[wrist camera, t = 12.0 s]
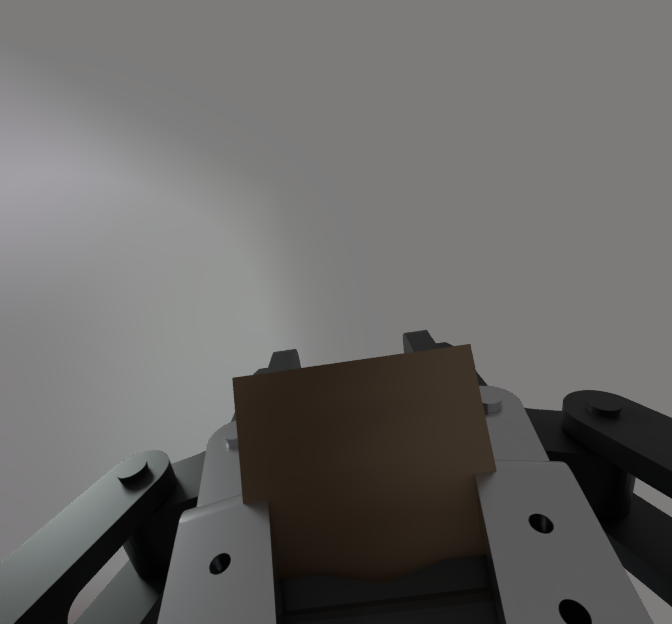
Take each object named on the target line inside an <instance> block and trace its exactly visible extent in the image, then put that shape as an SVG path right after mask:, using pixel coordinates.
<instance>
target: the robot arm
mask: <svg viewBox="0 0 672 624" xmlns="http://www.w3.org/2000/svg"><path fill="white" fill-rule="evenodd" d="M403 345H404V353H411V352H418V351H425V350H432V349H439V348H446V347H453V346H452V345H450V344H448V343H446V342H443V343H435V341H434V340H433V339H432V337H431V336H430V334H429V333H428V331H427V330H422V331H416V332H408V333H404V334H403ZM299 368H301V366H300V360H299V356H298V352H297V350H296V349H292V350H286V351H278V352H274V353H273V355H272V358H271V361H270V364H269V366H268V368H263V369H259V370H258V371H257V372H256V373H254V374H253V375H257V374H264V373H271V372H278V371H285V370H292V369H299ZM476 374H477V379H478V384H479V388H480V393H481V398H482V403H483V408H484V412H485V417H486V422H487V427H488V431H489V436H490V441H491V446H492V451H493V455H494V460H495V465H496V470H497V471H490V472H482V473H475V484H476V495H477V505H478V516H479V527H480V534H481V537H482V540H483V544H484V549H485V554H483V555H475V556H467V557H459V558H451V559H443V560H441V561H439V562H436V563H434V564H432V565H429V566H427V567H425V568H422V569H420V570H418V571H415V572H413V573H411V574H408V575H406V576H404V577H401V578H399V579H397V580H394V581H392V582H389V583H385V584H377V583H370V582H364V581H358V580H352V579H346V578H339V577H333V576H327V575H313V576H304V577H296V578H288V579H280V575H279V553H278V548H277V543H276V538H275V533H274V528H273V523H272V518H271V513H270V508H269V503H268V501H260V502H253V503H245V504H243V499H242V487H241V475H240V463H239V451H238V439H237V427H236V415H235V414H234V416H233V419H232V421H231V422H230V423H228V424H226V425H224V426H223V427H221V428H220V429H218V430H217V431H216V432H215V433H214V434H213V435H212V436H211V438H210V439H209V441H208V444H207V449H206V451H204V452H202V453H200V454H198V455H195V456H192V457H190V458H187V459H184V460H181V461H179V462H176V463H173V464H171V463H170V460H169V458H168V455H167V454H166V453H164V452H163V451H158V450H152V451H145V452H142V453H139V454H136V455H133V456H131V457H129V458H127V459H126V460H124V461H122V462H120V463H119V464H118V465H116V466H115V467H114V468H112V469H111V470H110V471H109V472H108V473H106V474H105V475H104V476H103V477H102V478H100V479H99V480H98V481H97V482H96V483H94V484H93V485H92V486H91V487H90V488H88V489H87V490H86V491H85V492H84V493H83V494H81V495H80V496H79V497H78V498H77V499H75V500H74V501H73V502H72V503H71V504H69V505H68V506H67V507H66V508H65V509H64V510H62V511H61V512H60V513H59V514H58V515H56V516H55V517H54V518H53V519H52V520H50V521H49V522H48V523H47V524H46V525H45V526H43V527H42V528H41V529H40V530H39V531H37V532H36V533H35V534H34V535H33V536H31V537H30V538H29V539H28V540H27V541H26V542H24V543H23V544H22V545H21V546H20V547H18V548H17V549H16V550H15V551H14V552H13V553H11V554H10V555H9V556H8V557H7V558H5V559H4V560H3V561H2V562H1V563H0V624H68V622H67V620H68V613H69V610H70V607H71V605H72V603H73V601H74V599H75V598H76V596H77V595H78V593H79V592H80V591H81V590H82V589H83V587H84V586H85V585H86V584H87V583H88V582H89V581H90V580H91V579H92V578H93V577H94V575H96V573H97V572H98V571H99V570H100V569H101V568H102V567H103V566H104V565H105V563H107V561H108V560H109V559H110V558H111V557H112V556H113V555H114V554H115V553H116V552H117V551H118V550H119V548H120V547H121V546H122V545H123V547H124V549H125V551H126V553H127V555H128V557H129V559H130V560H129V561H128V562H127V563H126V564H125V566H124V567H123V568H122V569H121V570H120V571H119V572H118V574H117V575H116V576H115V577H114V578H113V579H112V580H111V582H110V583H109V584H108V585H107V586H106V587H105V588H104V590H103V591H102V592H101V593H100V594H99V595H98V596H97V598H96V599H95V600H94V601H93V602H92V603H91V605H90V606H89V607H88V608H87V609H86V610H85V611H84V612H83V614H82V615H81V616H80V617H79V618H78V620H77V621H76V622H75V623H74V624H654V623H653V621H652V620H651V618H650V616H649V614H648V612H647V610H646V609H645V607H644V605H643V603H642V601H641V599H640V598H639V595H638V594H637V592H636V590H635V588H634V586H633V584H632V583H631V581H630V579H629V577H628V575H627V573H626V571H625V570H624V568H625V569H626V570H627V571H629V572H630V573H631V574H632V575H634V576H635V577H636V578H637V579H638V580H640V581H641V582H642V583H643V584H645V585H646V586H647V587H648V588H649V589H651V590H652V591H653V592H654V593H656V594H657V595H658V596H659V597H660V598H662V599H663V600H664V601H665V602H667V603H668V604H669V605H670V606H671V607H672V517H670V516H669V515H667V514H666V513H664V512H662V511H661V510H659V509H658V508H656V507H655V506H653V505H651V504H650V503H648V502H647V501H645V500H644V499H642V498H641V497H639V496H637V495H636V494H634V493H633V490H634V484H635V479H636V478H638V479H640V480H641V481H643V482H645V483H646V484H648V485H650V486H651V487H653V488H655V489H657V490H658V491H660V492H662V493H663V494H665V495H666V496H668V497H670V498H672V418H670V417H668V416H666V415H663V414H661V413H659V412H657V411H654V410H652V409H650V408H647V407H645V406H643V405H640V404H638V403H636V402H633V401H631V400H629V399H626V398H624V397H621V396H619V395H616V394H612V393H608V392H602V391H595V390H583V391H577V392H573V393H570V394H568V395H567V396H566V397H565V398H564V400H563V407H562V411H553V410H539V409H528V408H524V407H523V405H522V403H521V401H520V399H519V398H518V397H517V396H515V395H514V394H513V393H511V392H509V391H507V390H504V389H501V388H498V387H493V386H488V385H487V384H486V383H485V382H484V380H483V379H482V378H481V377H480V375H479V374H478V373H477V372H476ZM623 567H624V568H623Z"/></svg>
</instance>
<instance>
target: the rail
mask: <svg viewBox="0 0 672 624" xmlns="http://www.w3.org/2000/svg"><path fill="white" fill-rule="evenodd" d="M233 390H234V403H235V415H236V427H237V439H238V451H239V463H240V475H241V487H242V499H243V504H245V503H253V502H260V501H268V503H269V508H270V513H271V518H272V523H273V528H274V533H275V538H276V543H277V548H278V553H279V575H280V579H288V578H296V577H304V576H313V575H327V576H333V577H339V578H346V579H352V580H358V581H364V582H370V583H377V584H385V583H389V582H392V581H394V580H397V579H399V578H401V577H404V576H406V575H408V574H411V573H413V572H415V571H418V570H420V569H422V568H425V567H427V566H429V565H432V564H434V563H436V562H439V561H441V560H443V559H451V558H459V557H467V556H475V555H483V554H485V549H484V544H483V540H482V537H481V534H480V527H479V516H478V505H477V495H476V484H475V473H482V472H490V471H497V470H496V465H495V460H494V455H493V451H492V446H491V441H490V436H489V431H488V427H487V422H486V417H485V412H484V408H483V403H482V398H481V393H480V388H479V384H478V379H477V374H476V370H475V365H474V360H473V355H472V351H471V345H470V344H467V345H460V346H453V347H446V348H439V349H432V350H425V351H418V352H411V353H404V354H397V355H390V356H383V357H376V358H369V359H362V360H355V361H348V362H341V363H334V364H327V365H320V366H313V367H306V368H299V369H292V370H285V371H278V372H271V373H264V374H257V375H249V376H243V377H236V378H233Z"/></svg>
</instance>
